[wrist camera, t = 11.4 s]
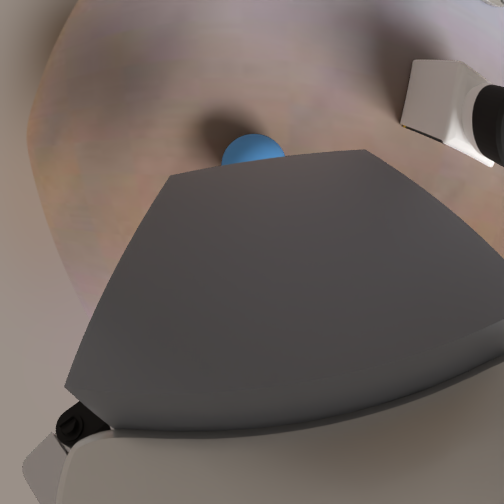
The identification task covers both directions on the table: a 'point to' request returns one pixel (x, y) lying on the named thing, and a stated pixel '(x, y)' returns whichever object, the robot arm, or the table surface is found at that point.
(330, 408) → the gray cube
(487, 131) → the medicine bottle
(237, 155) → the ball
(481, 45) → the table surface
